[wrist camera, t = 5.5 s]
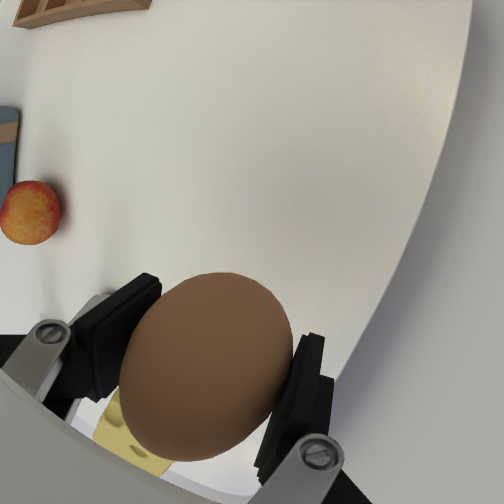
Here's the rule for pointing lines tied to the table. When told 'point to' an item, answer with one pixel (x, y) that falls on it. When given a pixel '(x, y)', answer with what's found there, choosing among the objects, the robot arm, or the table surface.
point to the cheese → (125, 440)
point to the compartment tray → (69, 10)
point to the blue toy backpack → (7, 148)
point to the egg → (205, 367)
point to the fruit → (30, 213)
